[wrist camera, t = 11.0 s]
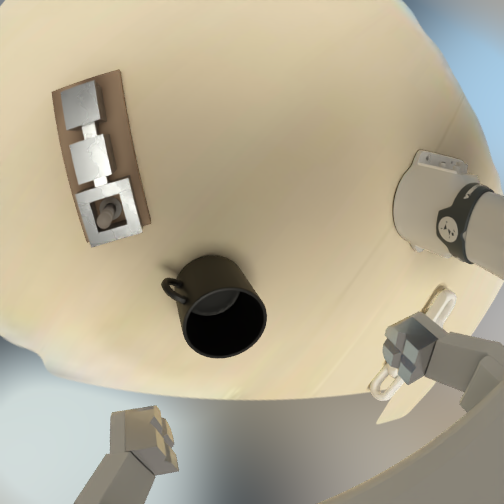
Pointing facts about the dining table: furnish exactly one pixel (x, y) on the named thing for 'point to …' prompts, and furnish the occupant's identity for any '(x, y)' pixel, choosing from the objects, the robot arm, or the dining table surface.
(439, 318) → the chain
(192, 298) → the mug
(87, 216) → the hasp latch
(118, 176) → the brown board with peg
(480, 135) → the dining table surface
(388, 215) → the dining table surface
